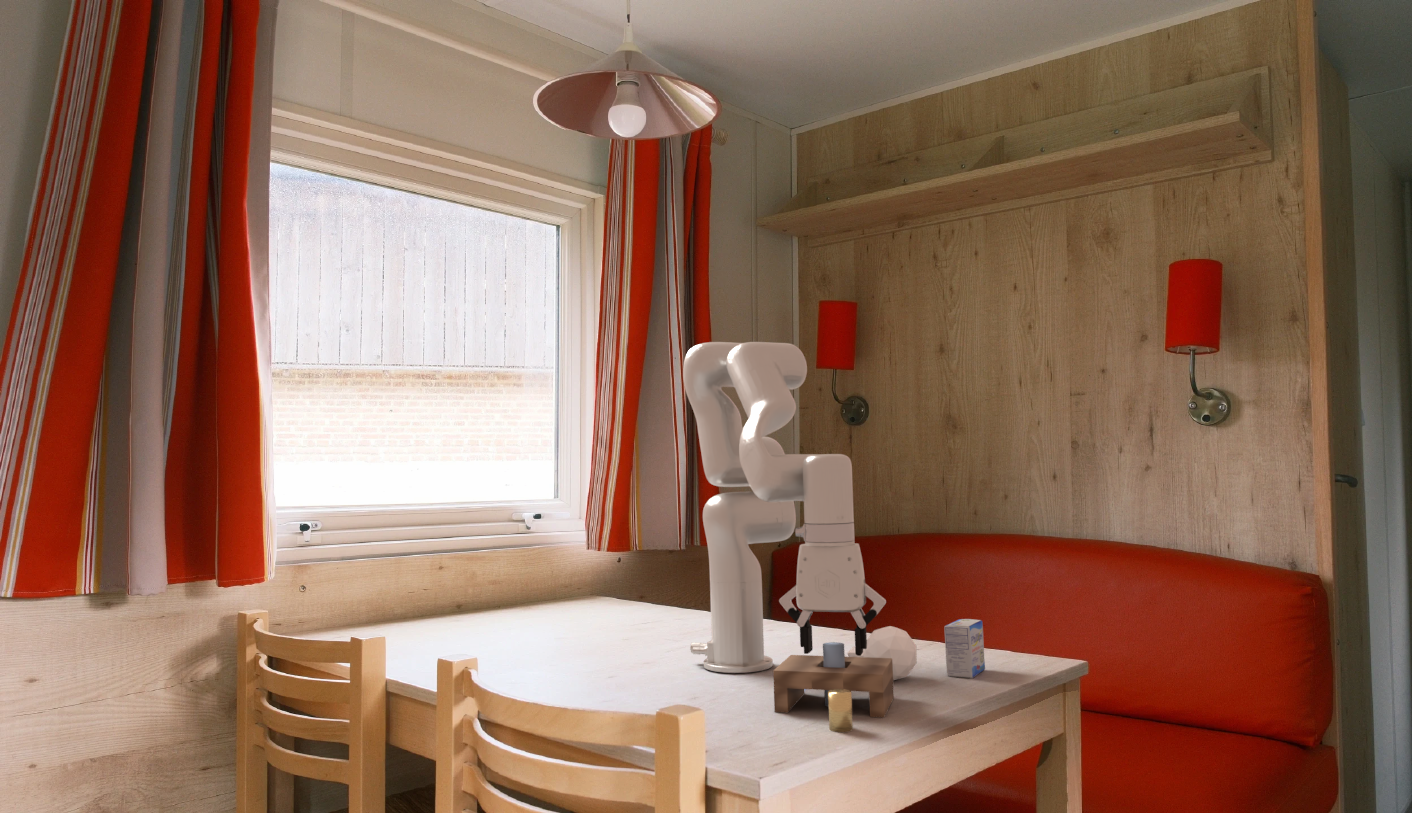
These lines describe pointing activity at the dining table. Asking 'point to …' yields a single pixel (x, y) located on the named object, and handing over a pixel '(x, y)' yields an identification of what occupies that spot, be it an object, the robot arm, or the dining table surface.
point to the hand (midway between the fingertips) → (833, 652)
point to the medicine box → (964, 648)
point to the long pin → (833, 658)
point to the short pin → (840, 710)
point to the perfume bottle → (891, 649)
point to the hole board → (834, 680)
